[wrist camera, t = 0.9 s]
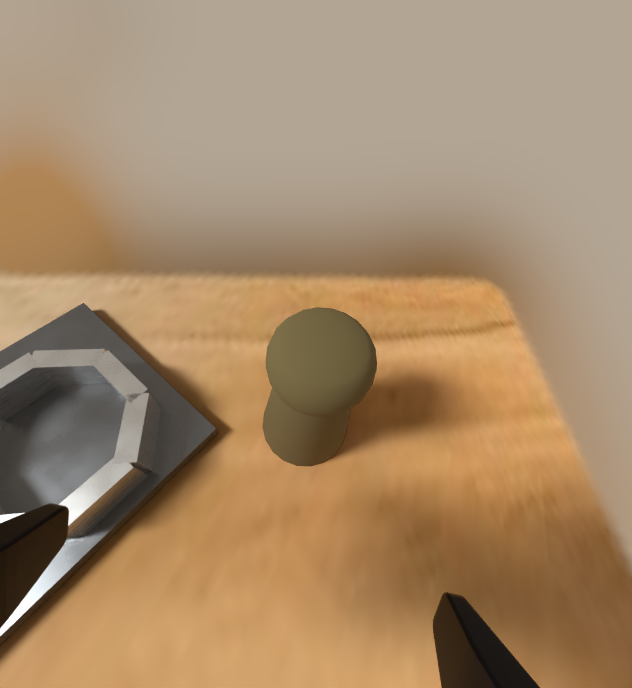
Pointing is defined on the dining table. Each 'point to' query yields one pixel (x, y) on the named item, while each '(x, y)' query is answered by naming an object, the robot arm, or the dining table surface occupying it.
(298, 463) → the cork
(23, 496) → the socket block
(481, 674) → the robot arm
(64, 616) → the dining table surface
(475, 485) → the dining table surface
